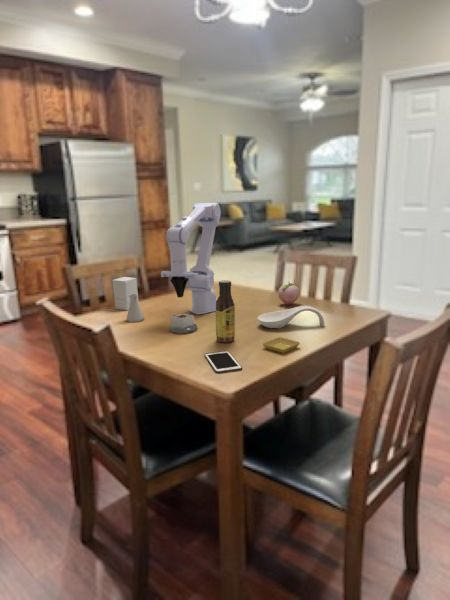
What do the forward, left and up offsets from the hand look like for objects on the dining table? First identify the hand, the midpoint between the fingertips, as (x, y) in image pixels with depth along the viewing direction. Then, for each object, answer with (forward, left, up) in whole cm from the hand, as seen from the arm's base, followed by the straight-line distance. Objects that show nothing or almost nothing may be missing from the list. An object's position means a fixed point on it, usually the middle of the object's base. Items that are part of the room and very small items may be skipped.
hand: (180, 296), depth 169 cm
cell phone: (+11, +42, -10) cm, 45 cm away
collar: (+4, +8, -9) cm, 13 cm away
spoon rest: (-28, +29, -10) cm, 42 cm away
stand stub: (0, -5, -10) cm, 11 cm away
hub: (+4, +8, -10) cm, 13 cm away
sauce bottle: (-1, +27, -10) cm, 29 cm away
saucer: (-10, +44, -10) cm, 46 cm away
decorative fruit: (-47, +8, -10) cm, 49 cm away
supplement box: (+7, -34, -10) cm, 36 cm away
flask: (+12, -15, -10) cm, 22 cm away
